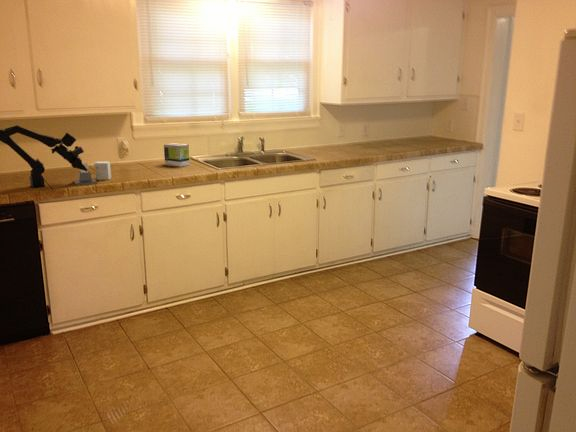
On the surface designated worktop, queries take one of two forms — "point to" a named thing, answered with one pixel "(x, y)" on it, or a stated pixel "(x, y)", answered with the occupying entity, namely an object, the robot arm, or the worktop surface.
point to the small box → (102, 170)
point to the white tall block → (86, 167)
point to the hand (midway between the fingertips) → (86, 169)
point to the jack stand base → (85, 179)
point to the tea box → (176, 154)
